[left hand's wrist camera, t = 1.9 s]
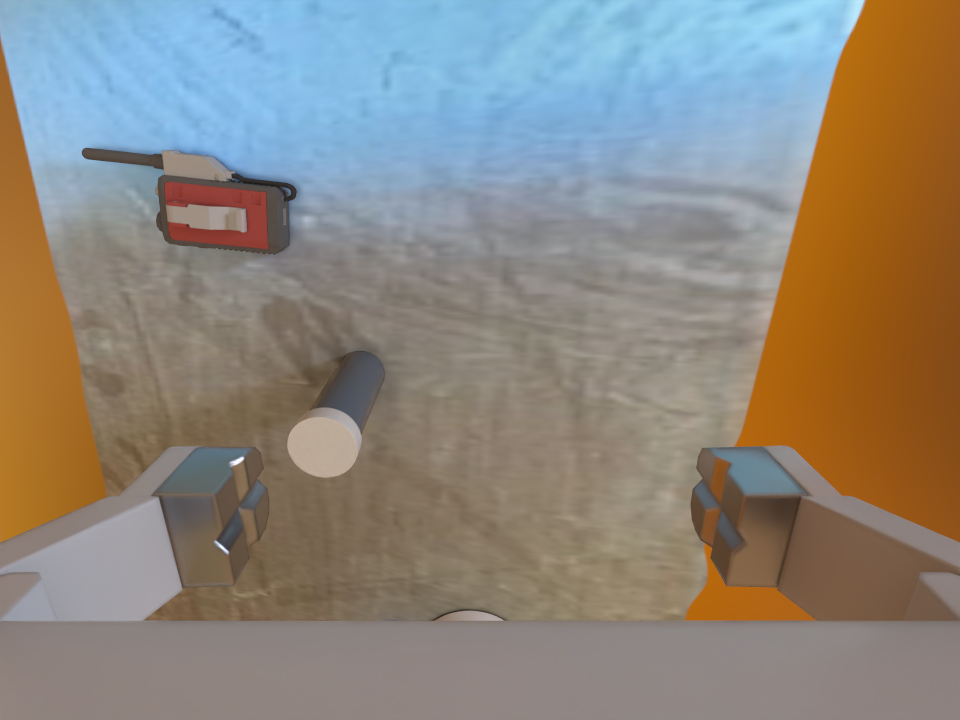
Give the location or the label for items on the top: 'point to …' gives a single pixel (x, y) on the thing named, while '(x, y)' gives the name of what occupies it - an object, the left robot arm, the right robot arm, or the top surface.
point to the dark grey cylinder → (353, 387)
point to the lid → (324, 442)
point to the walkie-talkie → (212, 202)
